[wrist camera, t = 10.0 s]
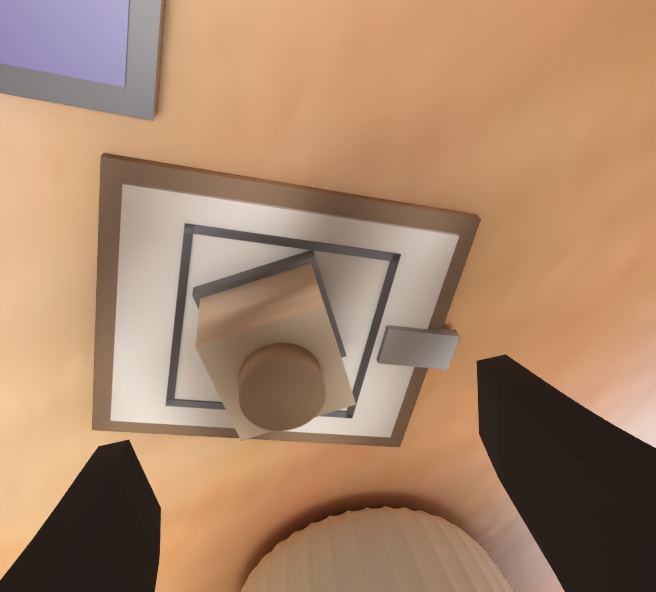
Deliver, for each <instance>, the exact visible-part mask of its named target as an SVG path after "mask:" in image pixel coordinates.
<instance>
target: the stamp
mask: <svg viewBox="0 0 656 592" xmlns="http://www.w3.org/2000/svg"><path fill="white" fill-rule="evenodd" d="M192 296H193V298H194V301H195V303H196V305H197V307H198V309H199V315H198V325H197V336H196V349H197V351H198V353H199V356H200V358H201V360H202V362H203V364H204V366H205V368H206V370H207V372H208V374H209V376H210V378H211V380H212V382H213V384H214V386H215V388H216V390H217V392H218V394H219V396H220V399H221V401H222V403H223V405H224V407H225V409H226V411H227V413H228V415H229V417H230V419H231V421H232V423H233V425H234V427H235V429H236V431H237V433H238V435H239V437H240V440H241V441H243V440H246V439H249V438H252V437H256V436H259V435H262V434H265V433H268V432H271V431H286V430H291V429H295V428H298V427H301V426H303V425H305V424H306V423H308V422H310V421H311V420H312V419H313V418H315V417H318V416H321V415H325V414H328V413H331V412H334V411H337V410H340V409H343V408H347V407H350V406H353V405H356V403H355V400H354V396H353V393H352V390H351V387H350V383H349V380H348V377H347V374H346V370H345V367H344V364H343V360H342V357H345V356H347V355H346V352H345V349H344V346H343V343H342V340H341V336H340V333H339V330H338V327H337V324H336V321H335V318H334V314H333V311H332V308H331V305H330V302H329V299H328V295H327V292H326V289H325V286H324V283H323V280H322V277H321V273H320V270H319V267H318V264H317V261H316V258H315V255H314V252H313V250H309V251H306V252H303V253H300V254H297V255H294V256H290V257H287V258H284V259H281V260H278V261H275V262H272V263H269V264H265V265H262V266H259V267H256V268H253V269H250V270H247V271H243V272H240V273H237V274H234V275H231V276H228V277H225V278H221V279H218V280H215V281H212V282H209V283H206V284H203V285H199V286H196V287H193V293H192Z"/></svg>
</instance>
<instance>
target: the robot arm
mask: <svg viewBox="0 0 656 592" xmlns="http://www.w3.org/2000/svg"><path fill="white" fill-rule="evenodd" d="M477 382H478V412H479V434H480V437H481V439H482V441H483V444H484V446H485V449H486V451H487V453H488V456H489V458H490V460H491V462H492V465H493V467H494V469H495V471H496V473H497V476H498V478H499V480H500V481H501V483H502V485H503V487H504V488H505V490H506V492H507V493H508V495H509V497H510V499H511V500H512V502H513V504H514V505H515V507H516V509H517V510H518V512H519V514H520V516H521V517H522V519H523V521H524V522H525V524H526V526H527V527H528V529H529V531H530V532H531V534H532V536H533V537H534V539H535V541H536V542H537V544H538V546H539V548H540V549H541V551H542V553H543V554H544V556H545V558H546V559H547V561H548V563H549V564H550V566H551V568H552V569H553V571H554V573H555V574H556V576H557V578H558V580H559V582H560V584H561V586H562V587H563V589H564V591H565V592H656V448H654V447H653V446H651V445H649V444H647V443H645V442H643V441H641V440H640V439H638V438H636V437H634V436H632V435H631V434H629V433H627V432H625V431H623V430H622V429H620V428H618V427H616V426H615V425H613V424H611V423H609V422H608V421H606V420H604V419H603V418H601V417H599V416H598V415H596V414H594V413H593V412H591V411H590V410H588V409H586V408H585V407H583V406H582V405H580V404H579V403H577V402H575V401H574V400H572V399H571V398H569V397H568V396H566V395H565V394H563V393H562V392H560V391H559V390H557V389H556V388H554V387H553V386H551V385H550V384H548V383H547V382H545V381H544V380H542V379H541V378H539V377H538V376H536V375H535V374H533V373H532V372H530V371H529V370H528V369H526V368H525V367H523V366H522V365H520V364H519V363H517V362H516V361H514V360H513V359H511V358H510V357H508V356H507V355H501V356H497V357H492V358H488V359H483V360H479V361H477ZM160 526H161V507H160V505H159V503H158V501H157V499H156V497H155V495H154V492H153V490H152V488H151V486H150V484H149V482H148V480H147V477H146V475H145V473H144V471H143V469H142V467H141V465H140V462H139V460H138V458H137V456H136V454H135V452H134V449H133V447H132V445H131V443H130V441H129V440H125V441H121V442H116V443H112V444H107V445H103V446H99V447H98V448H97V449H96V451H95V452H94V453H93V455H92V456H91V458H90V459H89V460H88V462H87V463H86V465H85V466H84V468H83V469H82V470H81V472H80V473H79V475H78V476H77V478H76V479H75V480H74V482H73V483H72V485H71V486H70V488H69V489H68V490H67V492H66V493H65V495H64V496H63V498H62V499H61V500H60V502H59V503H58V505H57V506H56V508H55V509H54V510H53V512H52V513H51V514H50V516H49V517H48V519H47V520H46V521H45V523H44V524H43V526H42V527H41V528H40V530H39V531H38V532H37V534H36V535H35V537H34V538H33V539H32V541H31V542H30V543H29V545H28V546H27V547H26V548H25V550H24V551H23V552H22V553H21V555H20V556H19V557H18V559H17V560H16V561H15V562H14V564H13V565H12V566H11V567H10V569H9V570H8V571H7V573H6V574H5V575H4V576H3V578H2V579H1V580H0V592H155V585H156V579H157V572H158V565H159V556H160Z"/></svg>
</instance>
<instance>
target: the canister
mask: <svg viewBox="0 0 656 592" xmlns="http://www.w3.org/2000/svg"><path fill="white" fill-rule="evenodd" d="M240 592H514V591H513V589H512V588H511V586H510V585H509V583H508V582H507V580H506V579H505V577H504V576H503V574H502V573H501V571H500V570H499V569H498V567H497V566H496V565H495V563H494V562H493V560H492V559H491V558H490V556H489V555H488V554H487V552H486V551H485V550H484V549H483V548H482V547H481V546H480V545H479V544H478V543H477V542H476V541H475V540H474V539H472V538H471V537H470V536H469V535H468V534H467V533H466V532H464V531H463V530H462V529H461V528H459V527H457V526H456V525H454V524H451V523H449V522H448V521H447V520H445V519H443V518H441V517H438V516H433V515H430V514H428V513H426V512H424V511H420V510H417V511H411V510H410V509H408V508H405V507H402V508H398V509H396V508H389V507H387V506H384V507H382V508H378V509H370V508H368V507H366V508H364V509H362V510H358V511H346V512H345V513H343V514H341V515H337V516H328V517H327V518H326V519H324V520H322V521H319V522H315V523H314V522H313V523H310V524H309V525H308V526H307V527H306V528H304V529H303V530H300V531H295V532H293V533H292V534H291V536H290V537H289V538H288V539H286V540H283V541H281V542H279V543H278V544H277V545H276V546H275V547H274V549H273V550H272V551H271V552H269V553H267V554H266V555H265V556H264V557H263V558H262V559H261V561H260V562H259V564H258V566H256V567H255V568H254V569H253V570H252V572H251V573H250V575H249V576H248V578H247V580H246V582H245V585H244V586H243V588H242V589H241V591H240Z"/></svg>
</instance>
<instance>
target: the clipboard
mask: <svg viewBox="0 0 656 592" xmlns="http://www.w3.org/2000/svg"><path fill="white" fill-rule="evenodd" d="M480 220H481V218H480V217H479V216H477V215H474V214H468V213H462V212H456V211H450V210H444V209H438V208H432V207H426V206H419V205H413V204H407V203H401V202H395V201H389V200H383V199H377V198H371V197H365V196H359V195H353V194H347V193H341V192H335V191H329V190H323V189H316V188H310V187H304V186H298V185H292V184H286V183H280V182H274V181H268V180H262V179H256V178H250V177H244V176H238V175H232V174H226V173H220V172H213V171H207V170H201V169H195V168H189V167H183V166H177V165H171V164H165V163H159V162H153V161H147V160H141V159H135V158H129V157H123V156H117V155H110V154H104V153H103V154H102V156H101V166H100V197H99V228H98V259H97V290H96V321H95V352H94V383H93V414H92V430H100V431H118V432H136V433H154V434H172V435H190V436H208V437H226V438H240V437H239V435H238V433H237V431H236V429H235V427H234V425H233V423H232V421H231V419H230V417H229V415H228V413H227V411H226V409H225V407H224V405H223V403H222V401H221V399H220V396H219V394H218V392H217V390H216V388H215V386H214V384H213V382H212V380H211V378H210V376H209V374H208V372H207V370H206V368H205V366H204V364H203V362H202V360H201V358H200V356H199V353H198V351H197V349H196V336H197V325H198V315H199V309H198V307H197V305H196V303H195V301H194V298H193V296H192V293H193V287H196V286H199V285H203V284H206V283H209V282H212V281H215V280H218V279H221V278H225V277H228V276H231V275H234V274H237V273H240V272H243V271H247V270H250V269H253V268H256V267H259V266H262V265H265V264H269V263H272V262H275V261H278V260H281V259H284V258H287V257H290V256H294V255H297V254H300V253H303V252H306V251H309V250H313V252H314V255H315V258H316V261H317V264H318V267H319V270H320V273H321V277H322V280H323V283H324V286H325V289H326V292H327V295H328V299H329V302H330V305H331V308H332V311H333V314H334V318H335V321H336V324H337V327H338V330H339V333H340V336H341V340H342V343H343V346H344V349H345V352H346V355H347V356H345V357H342V360H343V364H344V367H345V370H346V374H347V377H348V380H349V383H350V387H351V390H352V393H353V396H354V400H355V403H356V405H353V406H350V407H347V408H343V409H340V410H337V411H334V412H331V413H328V414H325V415H321V416H318V417H315V418H313V419H312V420H311V421H310V422H308V423H306V424H305V425H303V426H301V427H298V428H295V429H291V430H286V431H271V432H268V433H265V434H262V435H259V436H256V437H252V438H249V439H262V440H280V441H298V442H316V443H334V444H352V445H370V446H388V447H400V445H401V442H402V440H403V437H404V434H405V431H406V428H407V426H408V423H409V420H410V417H411V414H412V411H413V409H414V406H415V403H416V400H417V397H418V395H419V392H420V389H421V386H422V383H423V381H424V378H425V375H426V372H427V369H428V368H434V369H445V370H448V368H449V365H450V362H451V360H452V357H453V354H454V352H455V349H456V346H457V344H458V341H459V339H460V336H459V334H458V333H457V331H456V330H451V329H442V327H443V324H444V322H445V319H446V316H447V313H448V310H449V308H450V305H451V302H452V299H453V296H454V293H455V291H456V288H457V285H458V282H459V279H460V277H461V274H462V271H463V268H464V265H465V263H466V260H467V257H468V254H469V251H470V249H471V246H472V243H473V240H474V237H475V234H476V232H477V229H478V226H479V223H480Z"/></svg>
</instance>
